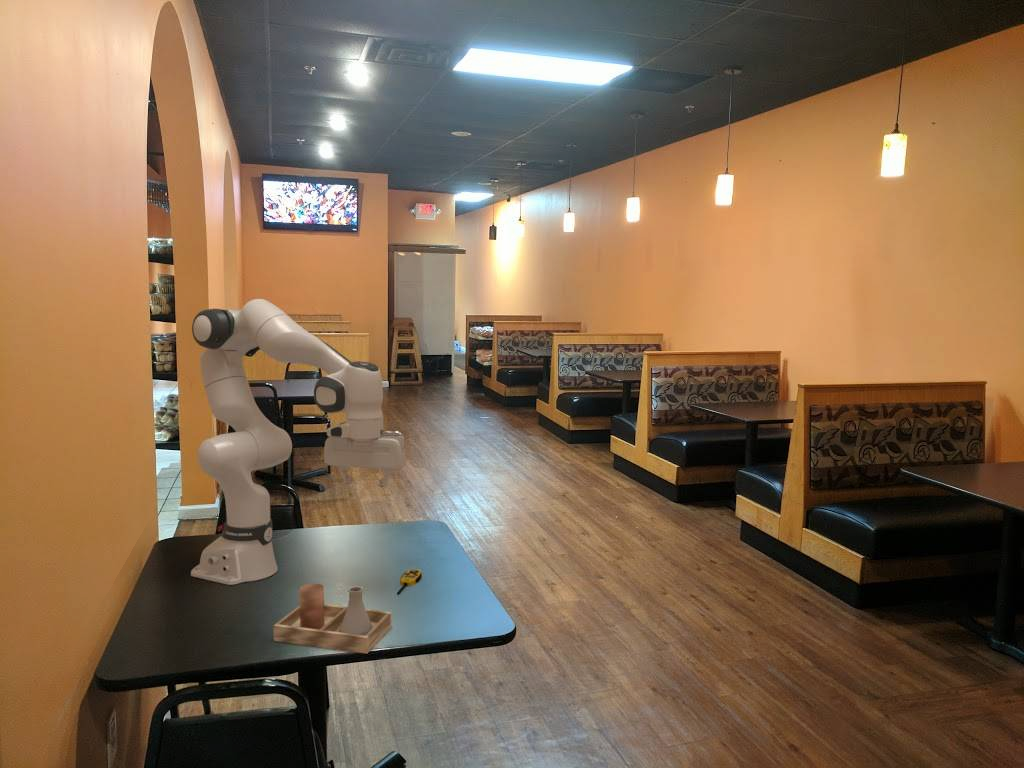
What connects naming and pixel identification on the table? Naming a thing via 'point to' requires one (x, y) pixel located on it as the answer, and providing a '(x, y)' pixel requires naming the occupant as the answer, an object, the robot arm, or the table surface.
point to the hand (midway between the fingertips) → (365, 485)
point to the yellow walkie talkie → (410, 578)
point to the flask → (356, 614)
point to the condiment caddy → (327, 624)
